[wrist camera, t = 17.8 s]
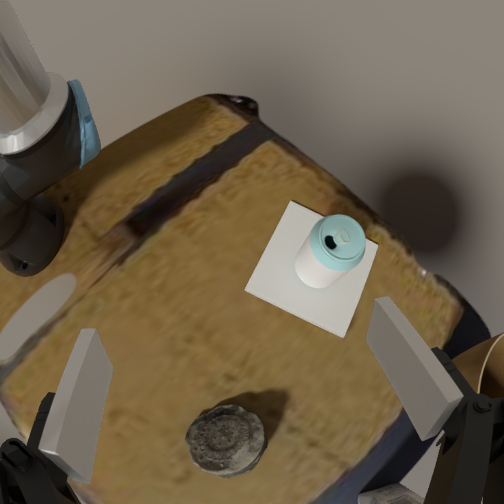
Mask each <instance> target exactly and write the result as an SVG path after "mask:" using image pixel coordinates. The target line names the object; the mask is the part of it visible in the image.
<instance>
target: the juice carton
mask: <svg viewBox="0 0 504 504" xmlns="http://www.w3.org/2000/svg"><path fill="white" fill-rule="evenodd" d="M424 500H425V499H424V498H422V497H421V496H419V495H418V494H416V493H414V492H413V491H411V490H409V489H408V488H406V487H405V486H403V485H402V484H400V483H392V484H390V485H387V486H384V487H381V488H379V489H375V490H372V491H368V492H365V493H362V494H359V496H358V504H423V503H424Z"/></svg>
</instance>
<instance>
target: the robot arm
mask: <svg viewBox="0 0 504 504" xmlns="http://www.w3.org/2000/svg"><path fill="white" fill-rule="evenodd" d="M100 148H101V144H100V139H99V135H98V132H97V129H96V126H95V123H94V120H93V118H92V114H91V111H90V107H89V105H88V102H87V99H86V96H85V93H84V91H83V88H82V85H81V83H80V82H79V81H78V80H72V81H68V82H66V81H65V79H64V78H63V77H62V76H61V75H59V74H57V73H52V72H46V71H45V69H44V67H43V66H42V64H41V62H40V60H39V58H38V56H37V54H36V52H35V50H34V48H33V47H32V45H31V43H30V41H29V39H28V37H27V35H26V33H25V31H24V29H23V27H22V24H21V22H20V20H19V18H18V16H17V14H16V12H15V10H14V7H13V5H12V3H11V1H10V0H0V262H1V263H2V265H3V266H4V267H5V268H6V269H7V270H9V271H10V272H12V273H14V274H16V275H18V276H23V277H27V276H32V275H35V274H37V273H39V272H40V271H42V270H43V269H44V268H45V267H46V266H47V265H48V264H49V263H50V262H51V261H52V259H53V258H54V256H55V255H56V253H57V251H58V249H59V246H60V244H61V241H62V237H63V231H64V219H63V215H62V212H61V209H60V208H59V206H58V205H57V204H56V203H55V202H54V201H53V200H52V199H51V198H50V197H49V196H47V195H45V194H42V192H43V191H45V190H46V189H48V188H49V187H51V186H52V185H54V184H56V183H57V182H59V181H60V180H62V179H63V178H65V177H67V176H68V175H70V174H71V173H73V172H75V171H76V170H79V169H81V168H82V167H83V166H84V165H85V164H86V163H88V162H89V161H91V160H92V159H94V158H95V157H96V156H97V155H98V154H99V152H100ZM366 342H367V344H368V346H369V347H370V349H371V351H372V352H373V354H374V356H375V357H376V359H377V361H378V363H379V364H380V366H381V368H382V370H383V371H384V373H385V375H386V377H387V378H388V380H389V382H390V384H391V385H392V387H393V389H394V391H395V392H396V394H397V396H398V398H399V400H400V401H401V403H402V405H403V407H404V409H405V411H406V412H407V414H408V416H409V418H410V420H411V422H412V423H413V425H414V427H415V429H416V431H417V433H418V435H419V437H420V439H421V440H422V441H424V440H426V439H429V438H431V437H433V436H435V435H437V434H438V432H439V431H440V430H441V428H443V430H444V431H445V433H444V434H443V436H442V437H441V438H440V439H439V441H438V442H437V444H436V446H438V445H439V444H440V443H441V446H440V450H439V454H438V458H437V461H436V465H435V468H434V472H433V475H432V479H431V482H430V485H429V488H428V492H427V494H426V497H425V500H424V503H423V504H481V501H482V496H483V504H504V397H500V398H493V399H490V398H489V397H488V396H487V395H484V394H480V393H477V394H476V392H475V391H474V390H473V389H472V387H471V386H470V385H469V383H468V382H467V380H466V379H465V378H464V376H463V375H462V374H461V372H460V371H459V370H457V367H456V366H455V364H454V363H452V360H451V359H450V358H449V356H448V355H447V354H446V353H445V352H444V351H442V350H441V349H439V348H438V347H435V348H432V349H430V348H429V347H428V346H427V344H426V343H425V342H424V340H423V339H422V338H421V336H420V335H419V334H418V332H417V331H416V330H415V329H414V327H413V326H412V325H411V323H410V322H409V321H408V320H407V318H406V317H405V316H404V315H403V313H402V312H401V311H400V310H399V308H398V307H397V306H396V305H395V303H394V302H393V301H392V300H391V299H390V297H389V296H386V297H380V298H375V301H374V306H373V311H372V315H371V320H370V325H369V329H368V333H367V337H366ZM113 371H114V368H113V366H112V364H111V362H110V360H109V358H108V356H107V353H106V351H105V349H104V347H103V345H102V342H101V340H100V338H99V335H98V333H97V331H96V329H82V330H81V332H80V334H79V337H78V339H77V341H76V343H75V346H74V348H73V351H72V353H71V355H70V358H69V360H68V363H67V365H66V368H65V370H64V373H63V376H62V378H61V381H60V383H59V386H58V389H57V392H56V393H51V392H48V394H47V395H46V396H45V397H44V399H43V400H42V401H41V404H40V407H39V409H38V412H37V415H36V418H35V419H36V420H35V421H34V424H33V427H32V430H31V433H30V436H29V439H28V442H27V446H26V445H25V444H24V443H23V442H22V441H20V440H19V439H17V438H11V439H8V440H6V441H5V442H4V443H3V444H2V446H1V447H0V459H1V460H0V504H81V503H80V501H79V500H78V498H77V496H76V495H75V493H74V491H73V490H72V488H71V486H70V485H69V484H68V483H67V476H69V477H70V478H71V479H73V480H74V481H77V482H82V483H88V484H91V477H92V471H93V465H94V459H95V453H96V447H97V442H98V437H99V432H100V427H101V422H102V417H103V412H104V408H105V403H106V399H107V395H108V391H109V386H110V382H111V378H112V374H113Z"/></svg>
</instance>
